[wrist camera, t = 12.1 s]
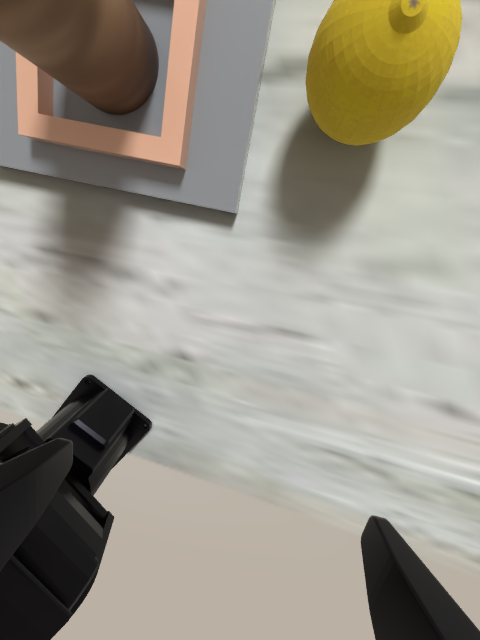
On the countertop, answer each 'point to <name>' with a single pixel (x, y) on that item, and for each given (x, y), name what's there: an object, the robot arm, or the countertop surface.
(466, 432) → the countertop surface
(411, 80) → the lemon
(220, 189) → the display stand
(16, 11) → the pepper mill
